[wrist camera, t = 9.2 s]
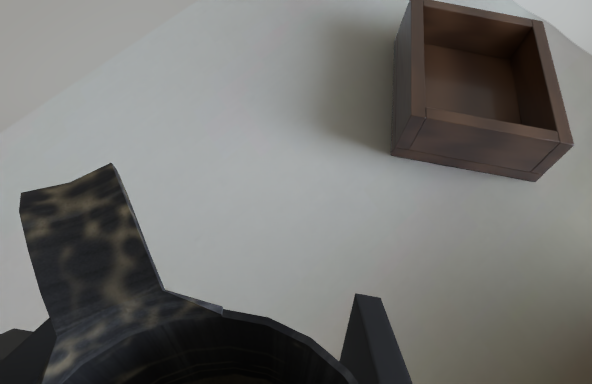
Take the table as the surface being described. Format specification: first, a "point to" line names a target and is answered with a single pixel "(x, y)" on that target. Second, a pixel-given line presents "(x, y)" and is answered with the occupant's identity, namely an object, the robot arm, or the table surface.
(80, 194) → the mug
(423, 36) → the square wooden tray
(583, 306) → the table surface
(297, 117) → the table surface
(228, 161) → the table surface
